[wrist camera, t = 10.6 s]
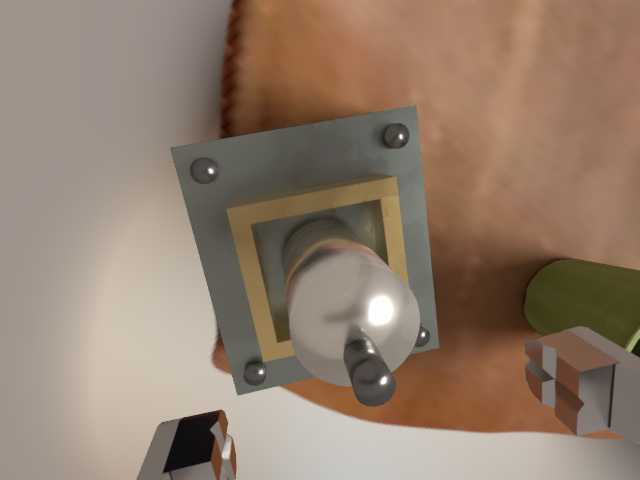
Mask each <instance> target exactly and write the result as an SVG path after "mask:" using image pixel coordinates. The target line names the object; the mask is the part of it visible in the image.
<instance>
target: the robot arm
mask: <svg viewBox="0 0 640 480" xmlns="http://www.w3.org/2000/svg"><path fill="white" fill-rule="evenodd" d="M525 354H526V355H527V356H528V357H529V358H530V360H529V362H528V364H527V365H526V367H525V374H526V380H527V383H528V386H529V388H530V390H531V391H532V393H533V394H534V396H535V397H536V398H537V399H538V400H539V401H540V402H541V403H542V404H545V405H547V406H550V407H552V408H554V410H555V416H556V417H557V418H558V419H559V420H560V421H561V422H562V423H563V424H564V425H565V426H566V427H567V428H569V429H570V430H571V431H572V432H573V433H574V434H575V435H576V436H580V435H584V434H589V433H593V432H598V431H602V430H607V429H610V431H612V432H614V433H616V434H618V435H620V436H622V437H624V438H626V439H628V440H631V441H633V442H635V443H637V444H639V445H640V358H639V357H638V356H636V355H634V354H632V353H631V352H629V351H627V350H625V349H624V348H622V347H620V346H618V345H617V344H615V343H613V342H611V341H610V340H608V339H606V338H605V337H603V336H601V335H599V334H598V333H596V332H594V331H592V330H591V329H589V328H587V327H582V326H578V327H574V328H570V329H567V330H563V331H561V332H557V333H553V334H549V335H544V336H540V337H536V338H532V339H528V340H527V342H526V344H525ZM227 426H228V421H227V418H226V415H225V412H224V411H223V410H217V411H213V412H208V413H203V414H198V415H194V416H189V417H184V418H182V419H175V420H171V421H166V422H162V423H161V424H160V425H159V426H158V427H157V429H156V432H155V434H154V437H153V440H152V442H151V445H150V447H149V449H148V452H147V454H146V457H145V459H144V462H143V465H142V467H141V470H140V472H139V475H138V477H137V480H235V479H236V453H235V447H234V442H233V439H232V437H231V436H230V435H228V434H227Z"/></svg>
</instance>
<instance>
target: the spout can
mask: <svg viewBox="0 0 640 480" xmlns="http://www.w3.org/2000/svg"><path fill="white" fill-rule="evenodd" d="M283 268H284V278H285V288H286V298H287V308H288V318H289V328H290V337H291V343H292V347H293V350H294V352H295V354H296V356H297V358H298V360H299V361H300V363H301V364H302V365H303V366H304V368H305V369H306V370H307V371H309V372H310V373H311V374H312V375H314V376H315V377H317V378H318V379H320V380H323V381H325V382H327V383H331V384H334V385H340V386H352V387H353V390H354V392H355V395H356V398H357V399H358V401H359V402H361V403H362V404H364V405H366V406H372V407H374V406H379V405H382V404H384V403H386V402H387V401H388V400H390V398H391V397H392V396H393V394H394V392H395V388H396V383H395V380H394V378H393V376H392V374H391V372H393V371H394V370H396V369H397V368H398V367H399V366H400V365H401V364H402V363H403V362H404V361H405V359H406V358H407V357H408V355H409V354H410V352H411V351H412V349H413V347H414V345H415V343H416V340H417V337H418V333H419V328H420V312H419V307H418V304H417V301H416V298H415V296H414V294H413V292H412V291H411V289H410V288H409V286H408V285H407V284H406V283H405V282H404V281H403V280H402V279H401V278H400V277H399V276H398V275H397V274H396V273H395V272H394V271H393V270H392V269H391V268H390V267H389V266H388V265H387V264H386V263H385V262H384V261H383V260H382V259H381V258H380V257H379V256H378V255H377V254H375V253H374V252H373V251H372V250H371V249H370V248H369V247H368V246H367V245H366V244H365V243H364V242H363V241H362V240H361V239H360V238H359V237H358V236H357V235H356V234H355V233H354V232H353V231H352V230H351V229H350V228H348V227H347V226H345V225H344V224H342V223H339V222H337V221H333V220H317V221H313V222H310V223H307V224H305V225H304V226H302V227H300V228H299V229H298V230H297V231H296V232H295V233H294V234H293V235H292V236H291V237H290V239H289V240H288V242H287V244H286V247H285V250H284V254H283Z"/></svg>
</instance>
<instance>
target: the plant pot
mask: <svg viewBox="0 0 640 480" xmlns="http://www.w3.org/2000/svg"><path fill="white" fill-rule="evenodd" d="M524 314H525V316H526V319H527V321H528V322H529V324H530V325H531V326H532V327H533V328H534V329H535V330H536V331H537V332H538V333H539V334H540V335H541V336H544V335H549V334H553V333H557V332H561V331H563V330H567V329H570V328H574V327H578V326H582V327H587V328H589V329H591V330H592V331H594V332H596V333H598V334H599V335H601V336H603V337H605V338H606V339H608V340H610V341H611V342H613V343H615V344H617V345H618V346H620V347H622V348H624V349H625V350H627V351H629V352H631V353H632V354H634V355H636V356H638V357H639V358H640V270H634V269H629V268H623V267H617V266H612V265H606V264H601V263H595V262H590V261H584V260H579V259H563V260H557V261H555V262H553V263H551V264H549V265H547V266H545V267H544V268H542V269H541V270H540V271H539V272H538V273H537V274H536V275H535V276H534V277H533V279H532V280H531V282H530V283H529V285H528V287H527V289H526V300H525V305H524Z"/></svg>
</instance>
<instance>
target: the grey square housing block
mask: <svg viewBox="0 0 640 480" xmlns="http://www.w3.org/2000/svg"><path fill="white" fill-rule="evenodd" d="M171 152H172V156H173V160H174V163H175V167H176V171H177V174H178V178H179V182H180V185H181V189H182V193H183V196H184V200H185V204H186V207H187V211H188V215H189V219H190V222H191V225H192V230H193V233H194V237H195V241H196V244H197V248H198V252H199V255H200V259H201V263H202V266H203V270H204V274H205V277H206V281H207V285H208V289H209V292H210V296H211V300H212V303H213V307H214V311H215V314H216V318H217V322H218V325H219V329H220V333H221V336H222V340H223V344H224V347H225V351H226V355H227V358H228V362H229V366H230V370H231V373H232V377H233V381H234V384H235V388H236V392H237V395H242V394H246V393H250V392H255V391H259V390H263V389H267V388H272V387H276V386H280V385H284V384H289V383H293V382H297V381H301V380H305V379H310V378H314V377H315V376H314V375H312V374H311V373H310V372H309V371H307V370H306V369H305V368H304V366H303V365H302V364H301V363H300V361H299V360H298V358H297V356H296V354H295V352H294V350H293V347H292V343H291V337H290V328H289V318H288V308H287V298H286V288H285V278H284V268H283V254H284V250H285V247H286V244H287V242H288V240H289V239H290V237H291V236H292V235H293V234H294V233H295V232H296V231H297V230H298V229H299V228H300V227H302V226H304V225H305V224H307V223H310V222H313V221H317V220H333V221H337V222H339V223H342V224H344V225H345V226H347V227H348V228H350V229H351V230H352V231H353V232H354V233H355V234H356V235H357V236H358V237H359V238H360V239H361V240H362V241H363V242H364V243H365V244H366V245H367V246H368V247H369V248H370V249H371V250H372V251H373V252H374V253H375V254H377V255H378V256H379V257H380V258H381V259H382V260H383V261H384V262H385V263H386V264H387V265H388V266H389V267H390V268H391V269H392V270H393V271H394V272H395V273H396V274H397V275H398V276H399V277H400V278H401V279H402V280H403V281H404V282H405V283H406V284H407V285H408V286H409V288H410V289H411V291H412V292H413V294H414V296H415V298H416V301H417V304H418V307H419V312H420V328H419V333H418V337H417V340H416V343H415V345H414V347H413V349H412V351H411V352H410V354H409V355H411V354H416V353H420V352H424V351H428V350H432V349H437V348H439V338H438V327H437V317H436V307H435V296H434V286H433V275H432V265H431V254H430V244H429V234H428V223H427V213H426V202H425V192H424V182H423V171H422V161H421V150H420V140H419V130H418V119H417V109H416V105H415V106H409V107H403V108H398V109H392V110H386V111H380V112H375V113H369V114H363V115H357V116H351V117H346V118H340V119H334V120H328V121H323V122H317V123H311V124H305V125H299V126H294V127H288V128H282V129H276V130H271V131H265V132H259V133H253V134H247V135H242V136H236V137H230V138H224V139H219V140H213V141H207V142H201V143H195V144H190V145H184V146H178V147H172V148H171Z"/></svg>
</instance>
